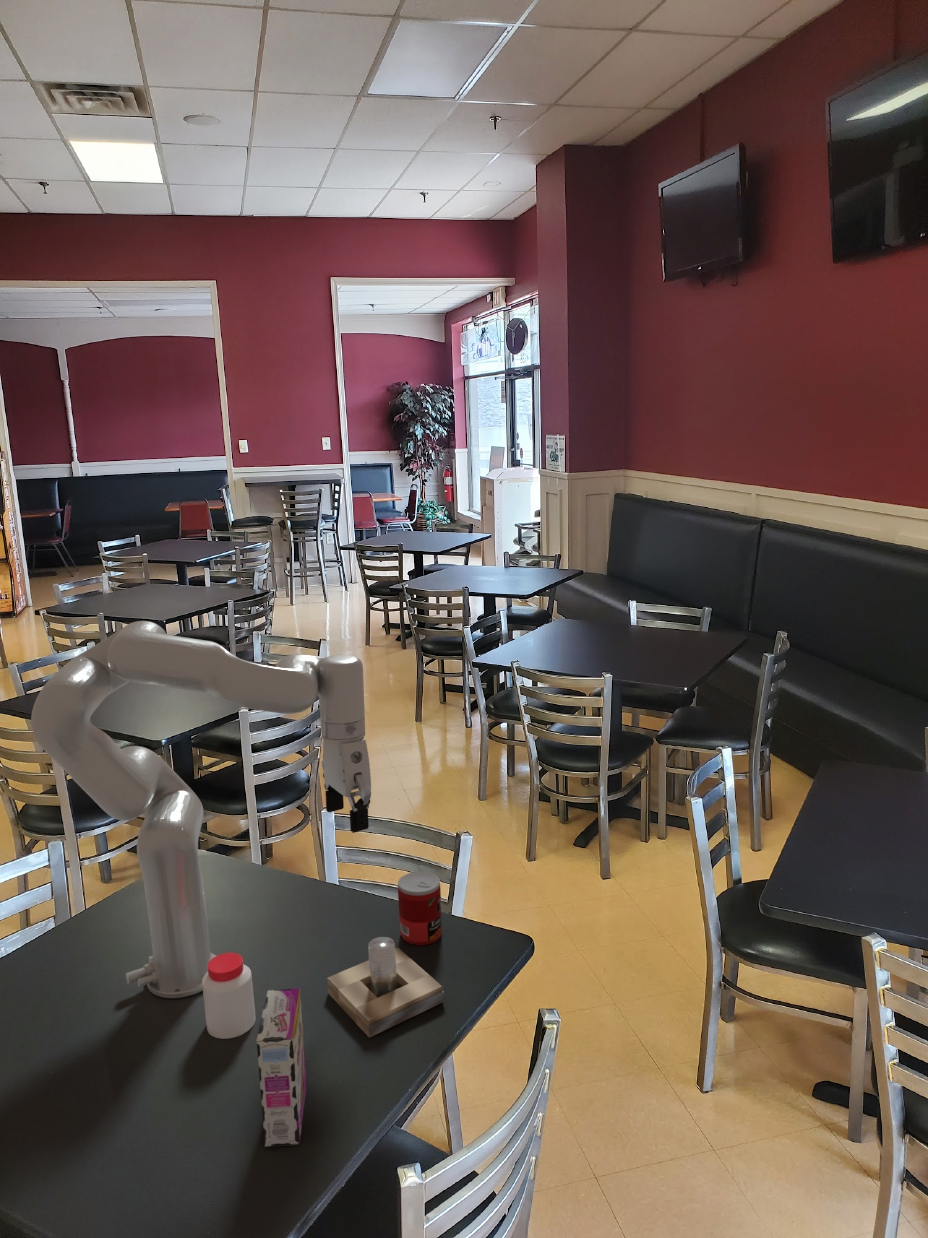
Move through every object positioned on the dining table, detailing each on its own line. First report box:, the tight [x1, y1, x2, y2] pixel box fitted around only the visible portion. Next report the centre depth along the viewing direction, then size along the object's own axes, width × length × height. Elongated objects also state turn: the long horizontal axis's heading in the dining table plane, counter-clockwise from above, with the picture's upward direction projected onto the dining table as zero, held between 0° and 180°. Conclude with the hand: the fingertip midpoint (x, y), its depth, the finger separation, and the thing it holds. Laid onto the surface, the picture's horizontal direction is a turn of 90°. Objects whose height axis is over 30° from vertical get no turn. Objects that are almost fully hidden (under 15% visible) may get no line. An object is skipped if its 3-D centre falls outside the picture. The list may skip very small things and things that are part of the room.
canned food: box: [397, 871, 443, 946], centre depth 165 cm, size 8×8×11 cm
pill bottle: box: [202, 952, 257, 1040], centre depth 142 cm, size 8×8×11 cm
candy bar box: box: [255, 987, 308, 1148], centre depth 121 cm, size 11×5×16 cm, turn 5°
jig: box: [327, 947, 446, 1038], centre depth 147 cm, size 14×15×3 cm
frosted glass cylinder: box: [367, 936, 398, 998], centre depth 147 cm, size 4×4×10 cm
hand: (347, 820), depth 154 cm, fingers open, 9 cm apart
